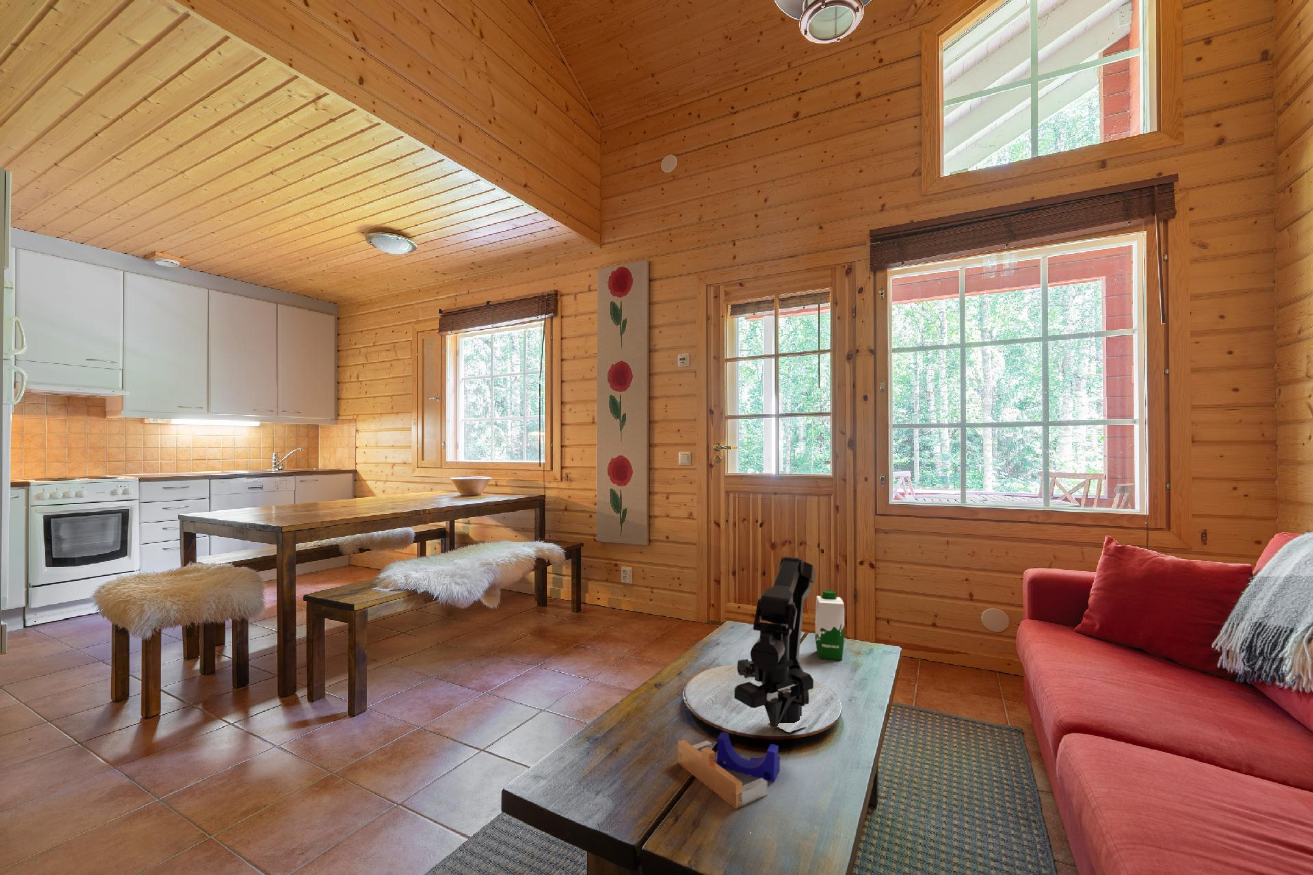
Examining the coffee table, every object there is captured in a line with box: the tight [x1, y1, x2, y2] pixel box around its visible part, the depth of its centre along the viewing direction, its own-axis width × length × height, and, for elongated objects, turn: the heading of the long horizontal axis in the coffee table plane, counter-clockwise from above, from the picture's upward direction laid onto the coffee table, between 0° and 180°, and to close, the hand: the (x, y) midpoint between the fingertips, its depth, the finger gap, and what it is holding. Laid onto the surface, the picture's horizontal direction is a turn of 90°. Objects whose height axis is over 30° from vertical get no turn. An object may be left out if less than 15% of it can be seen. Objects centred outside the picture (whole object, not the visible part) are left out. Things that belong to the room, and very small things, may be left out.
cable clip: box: [716, 731, 781, 783], centre depth 118 cm, size 12×4×6 cm, turn 64°
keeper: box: [677, 739, 768, 810], centre depth 114 cm, size 8×18×6 cm, turn 34°
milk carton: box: [814, 589, 845, 661], centre depth 183 cm, size 9×9×20 cm
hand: (774, 726), depth 123 cm, fingers closed
